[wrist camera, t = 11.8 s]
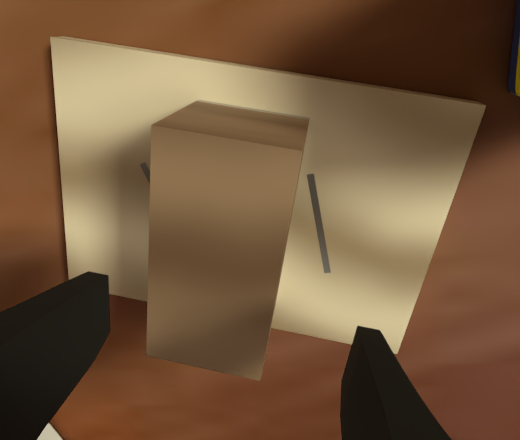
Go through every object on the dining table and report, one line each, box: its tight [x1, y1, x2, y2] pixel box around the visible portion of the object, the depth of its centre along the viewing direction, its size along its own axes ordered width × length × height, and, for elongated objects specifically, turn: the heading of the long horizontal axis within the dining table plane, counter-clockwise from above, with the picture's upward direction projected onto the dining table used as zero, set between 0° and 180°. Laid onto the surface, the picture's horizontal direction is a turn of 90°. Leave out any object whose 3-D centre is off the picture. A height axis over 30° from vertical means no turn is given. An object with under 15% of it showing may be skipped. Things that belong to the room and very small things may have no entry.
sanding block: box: [146, 100, 310, 381], centre depth 16 cm, size 9×4×5 cm, turn 172°
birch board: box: [50, 36, 486, 354], centre depth 19 cm, size 12×17×1 cm
